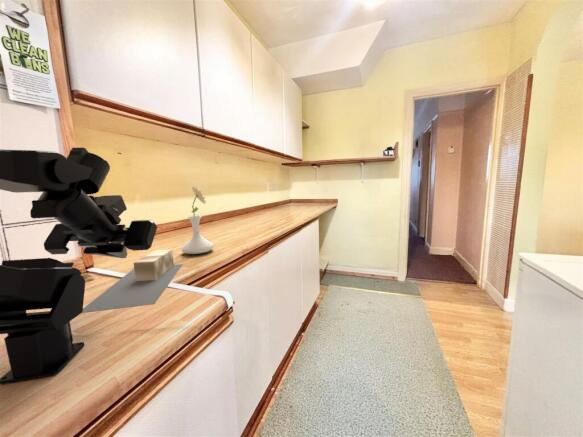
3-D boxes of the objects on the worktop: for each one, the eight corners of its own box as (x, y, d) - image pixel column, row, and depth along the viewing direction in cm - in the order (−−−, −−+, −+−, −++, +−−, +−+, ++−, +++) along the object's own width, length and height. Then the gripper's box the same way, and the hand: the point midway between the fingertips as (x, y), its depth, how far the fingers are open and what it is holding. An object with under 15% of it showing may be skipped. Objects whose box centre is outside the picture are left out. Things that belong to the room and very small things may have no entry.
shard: (39, 300, 56) (38, 292, 56) (32, 292, 60) (31, 285, 60) (96, 283, 65) (95, 277, 65) (86, 277, 69) (85, 271, 69)
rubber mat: (154, 306, 50) (154, 303, 50) (77, 315, 47) (77, 313, 47) (183, 265, 75) (183, 264, 75) (134, 270, 72) (133, 268, 72)
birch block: (153, 261, 62) (172, 249, 74) (133, 262, 62) (155, 250, 74) (155, 279, 63) (173, 264, 75) (135, 281, 63) (157, 265, 74)
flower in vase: (212, 255, 86) (206, 185, 83) (178, 258, 84) (171, 186, 80) (215, 246, 99) (210, 185, 95) (185, 248, 96) (179, 186, 93)
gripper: (147, 180, 48) (174, 225, 60) (47, 183, 46) (96, 229, 59) (129, 225, 41) (164, 266, 53) (11, 230, 39) (75, 271, 52)
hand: (125, 256), depth 54 cm, fingers closed
